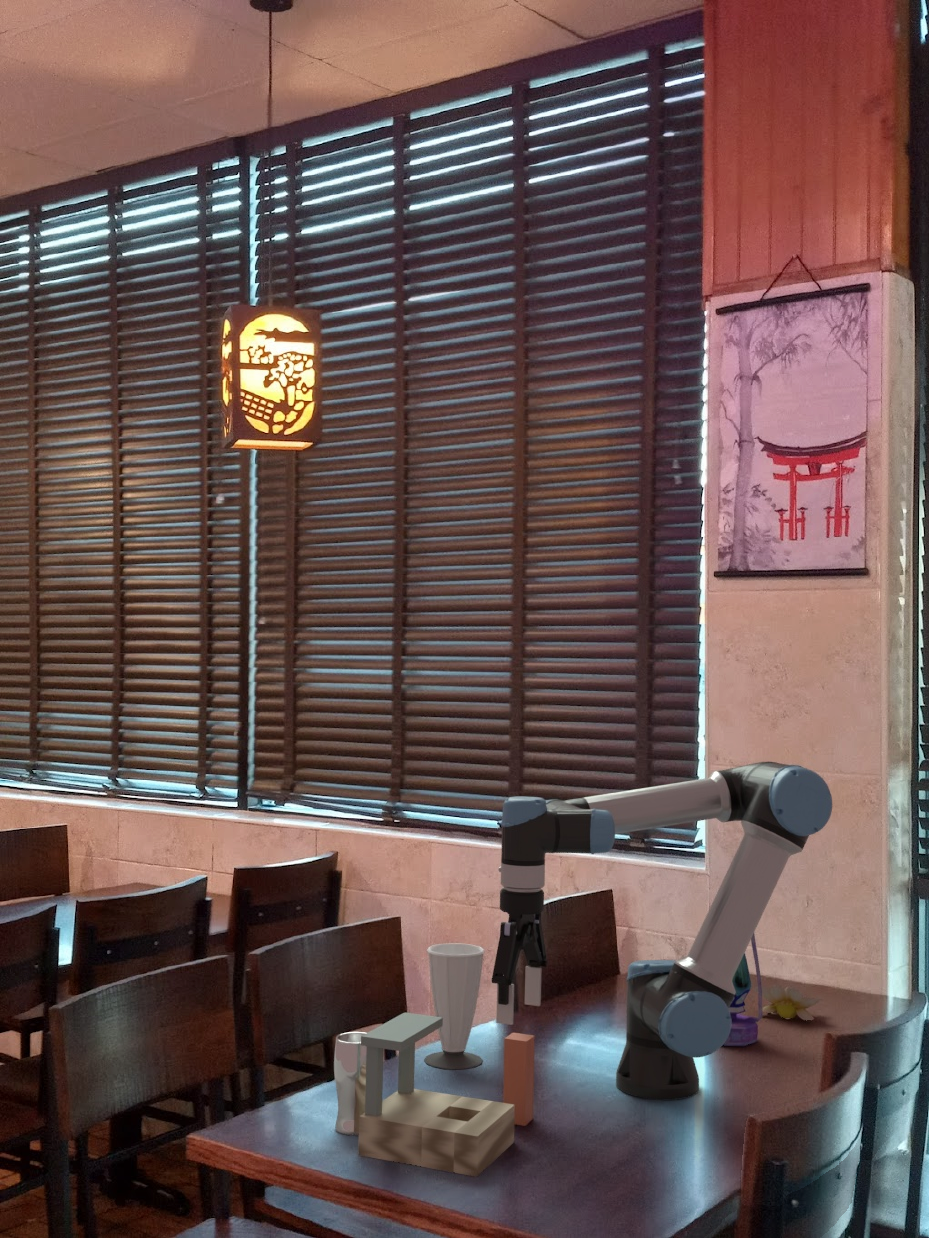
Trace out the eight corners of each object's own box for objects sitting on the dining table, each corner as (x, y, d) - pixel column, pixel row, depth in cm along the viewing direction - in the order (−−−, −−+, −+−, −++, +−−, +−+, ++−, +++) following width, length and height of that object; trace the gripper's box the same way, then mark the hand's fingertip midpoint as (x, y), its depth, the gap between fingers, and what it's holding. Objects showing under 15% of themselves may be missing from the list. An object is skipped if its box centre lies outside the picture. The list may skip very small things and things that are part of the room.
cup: (490, 1056, 259) (492, 945, 260) (471, 1072, 248) (474, 957, 249) (435, 1049, 263) (438, 940, 264) (415, 1065, 252) (417, 952, 253)
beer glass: (332, 1121, 220) (335, 1031, 221) (374, 1121, 221) (376, 1031, 221) (332, 1136, 213) (334, 1043, 214) (375, 1136, 214) (377, 1043, 214)
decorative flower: (835, 1008, 295) (829, 966, 293) (820, 1031, 285) (813, 988, 284) (771, 1003, 303) (765, 962, 302) (754, 1025, 294) (748, 983, 292)
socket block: (513, 1142, 212) (514, 1104, 213) (476, 1176, 198) (477, 1136, 198) (402, 1123, 220) (402, 1086, 220) (358, 1155, 205) (359, 1116, 206)
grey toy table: (441, 1092, 218) (442, 1017, 218) (399, 1123, 203) (401, 1041, 203) (402, 1086, 220) (404, 1012, 221) (359, 1116, 206) (361, 1036, 206)
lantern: (692, 1043, 271) (694, 897, 272) (703, 1029, 282) (705, 888, 283) (757, 1051, 266) (759, 902, 267) (766, 1037, 277) (768, 894, 278)
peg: (533, 1118, 224) (534, 1035, 224) (525, 1125, 220) (526, 1041, 221) (511, 1114, 225) (512, 1032, 226) (502, 1122, 222) (504, 1038, 222)
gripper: (526, 876, 237) (523, 995, 236) (474, 897, 214) (470, 1028, 213) (566, 880, 234) (563, 1000, 234) (517, 901, 211) (513, 1034, 211)
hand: (519, 1014), depth 223 cm, fingers open, 13 cm apart
